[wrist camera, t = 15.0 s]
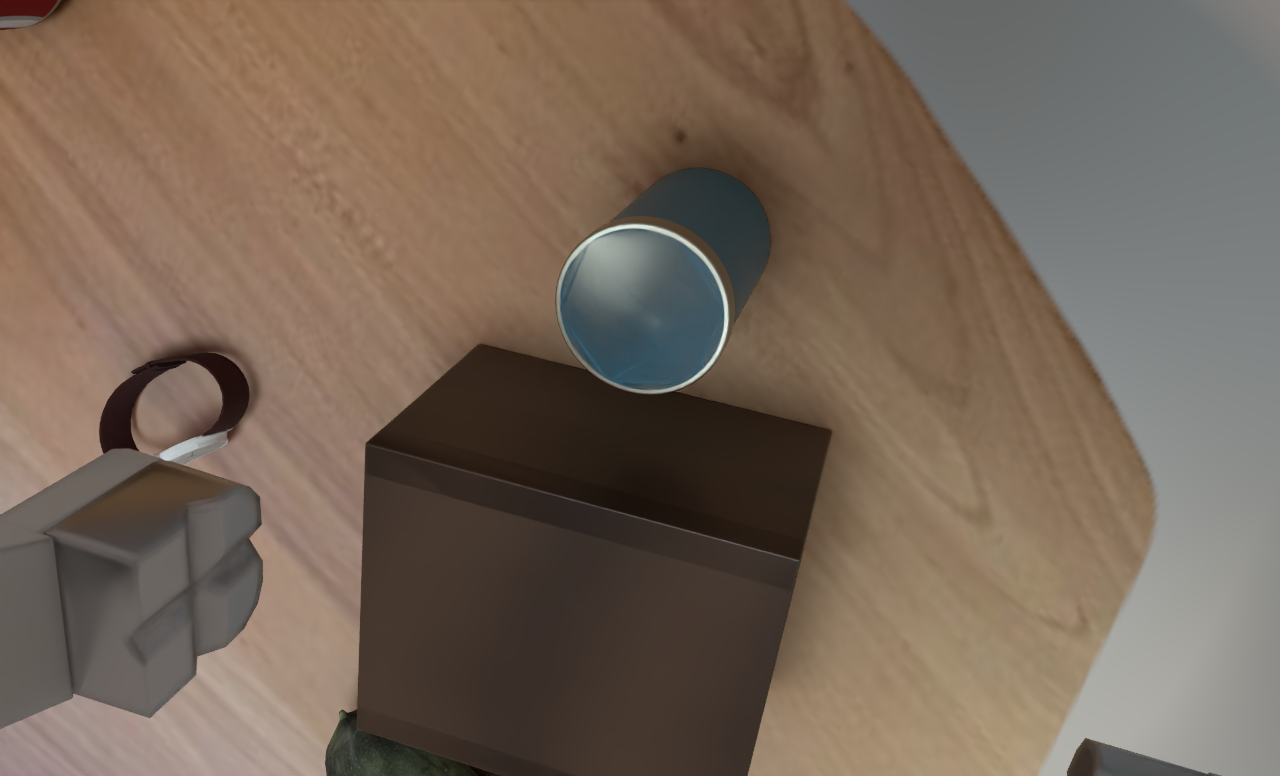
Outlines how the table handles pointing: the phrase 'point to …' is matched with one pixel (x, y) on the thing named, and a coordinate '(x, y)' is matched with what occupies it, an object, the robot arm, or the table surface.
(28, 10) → the soda can
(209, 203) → the table surface
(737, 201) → the enamel canister
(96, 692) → the robot arm
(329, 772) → the vegetable
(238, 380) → the watch
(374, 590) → the brown box
